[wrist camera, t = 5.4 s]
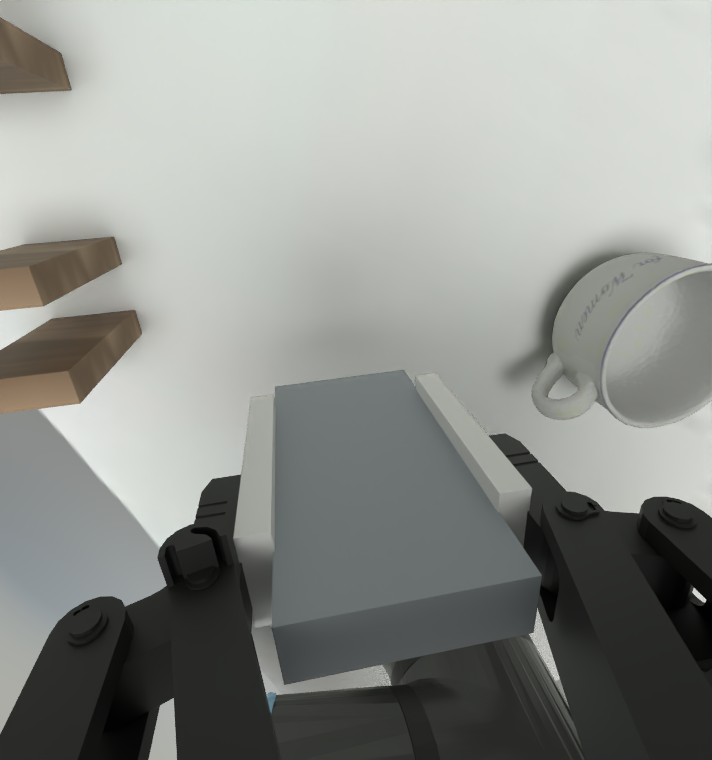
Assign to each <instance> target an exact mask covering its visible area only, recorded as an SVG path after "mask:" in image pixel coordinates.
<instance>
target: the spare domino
mask: <svg viewBox="0 0 712 760" xmlns="http://www.w3.org/2000/svg"><path fill="white" fill-rule="evenodd" d="M275 407H276V430H275V552H273V571H272V631H273V636H274V640H275V645H276V649H277V654H278V658H279V663H280V667H281V672H282V676H283V681H284V685H286V684H290V683H295V682H300V681H305V680H309V679H314V678H319V677H324V676H329V675H333V674H338V673H343V672H348V671H353V670H357V669H362V668H367V667H372V666H376V665H381V664H386V663H391V662H396V661H400V660H405V659H410V658H415V657H420V656H424V655H429V654H434V653H439V652H443V651H448V650H453V649H458V648H463V647H467V646H472V645H477V644H482V643H487V642H491V641H496V640H501V639H506V638H510V637H515V636H520V635H525V634H530V633H533V632H534V625H535V619H536V612H537V605H538V599H539V592H540V585H541V579H542V575H541V573H540V572H539V570H538V569H537V567H536V566H535V564H534V563H533V561H532V560H531V558H530V557H529V555H528V554H527V553H526V551H525V550H524V548H523V547H522V545H521V544H520V542H519V541H518V539H517V538H516V536H515V535H514V533H513V532H512V530H511V529H510V527H509V526H508V524H507V523H506V521H505V520H504V518H503V517H502V515H501V514H500V512H499V513H498V512H497V510H496V509H495V507H494V506H493V504H492V503H491V501H490V500H489V498H488V497H487V495H486V494H485V492H484V491H483V489H482V488H481V486H480V485H479V483H478V482H477V480H476V479H475V477H474V476H473V474H472V473H471V471H470V470H469V468H468V467H467V465H466V464H465V462H464V461H463V459H462V458H461V456H460V455H459V453H458V452H457V450H456V449H455V447H454V446H453V444H452V443H451V441H450V440H449V439H448V437H447V436H446V434H445V433H444V431H443V430H442V428H441V427H440V425H439V424H438V422H437V421H436V419H435V418H434V416H433V415H432V413H431V412H430V410H429V409H428V407H427V406H426V404H425V403H424V401H423V400H422V398H421V397H420V395H419V394H418V392H417V391H416V388H415V386H414V385H413V383H412V382H411V380H410V379H409V377H408V376H407V374H406V373H405V371H404V370H400V371H392V372H385V373H377V374H369V375H361V376H354V377H346V378H338V379H331V380H323V381H315V382H307V383H300V384H292V385H284V386H277V387H275Z"/></svg>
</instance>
